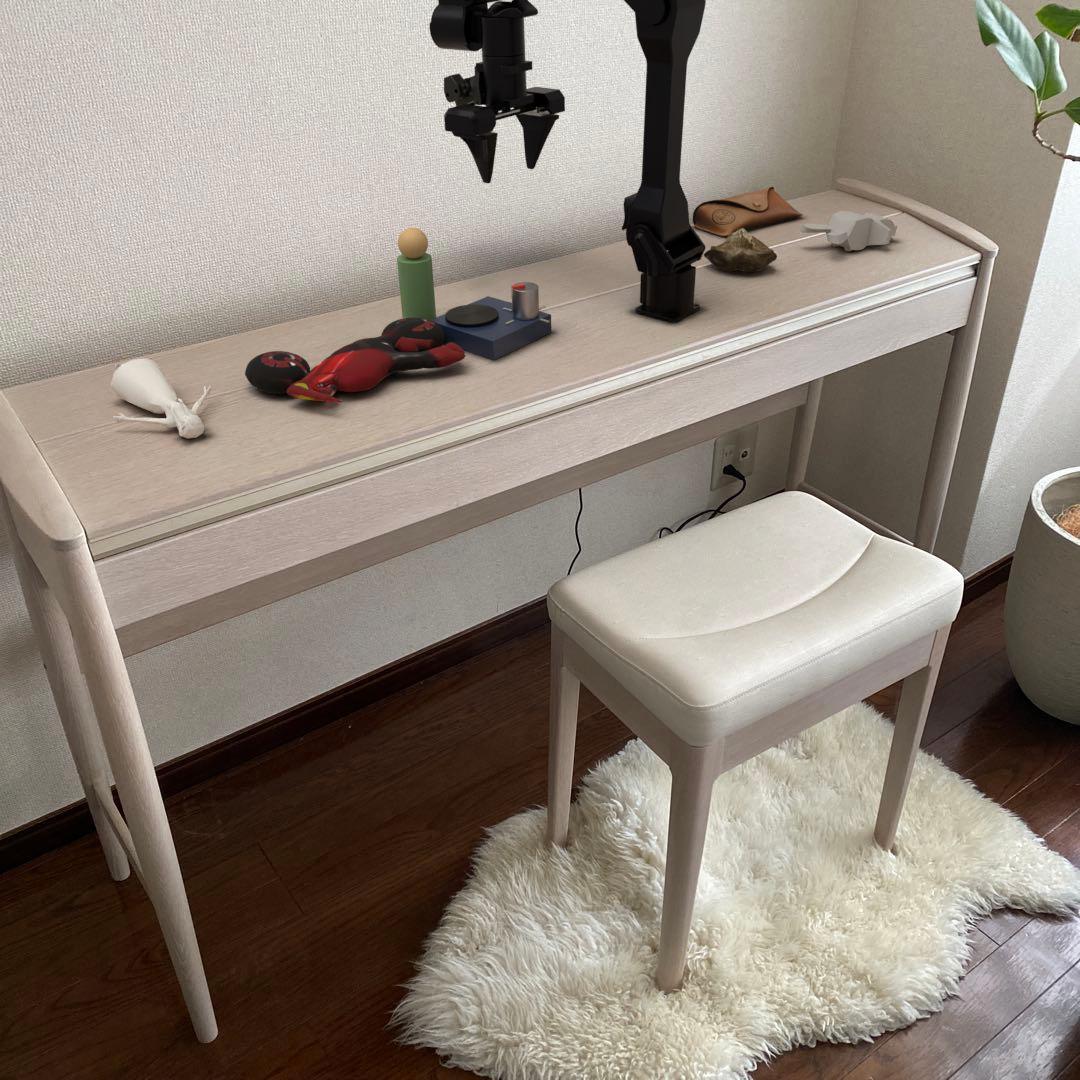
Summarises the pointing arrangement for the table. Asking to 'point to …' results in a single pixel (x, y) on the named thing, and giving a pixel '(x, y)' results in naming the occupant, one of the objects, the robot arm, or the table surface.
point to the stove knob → (525, 300)
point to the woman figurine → (155, 397)
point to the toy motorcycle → (355, 362)
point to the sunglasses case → (743, 212)
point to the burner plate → (471, 316)
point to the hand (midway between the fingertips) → (509, 175)
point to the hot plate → (496, 331)
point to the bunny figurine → (855, 230)
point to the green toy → (415, 275)
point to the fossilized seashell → (741, 253)
